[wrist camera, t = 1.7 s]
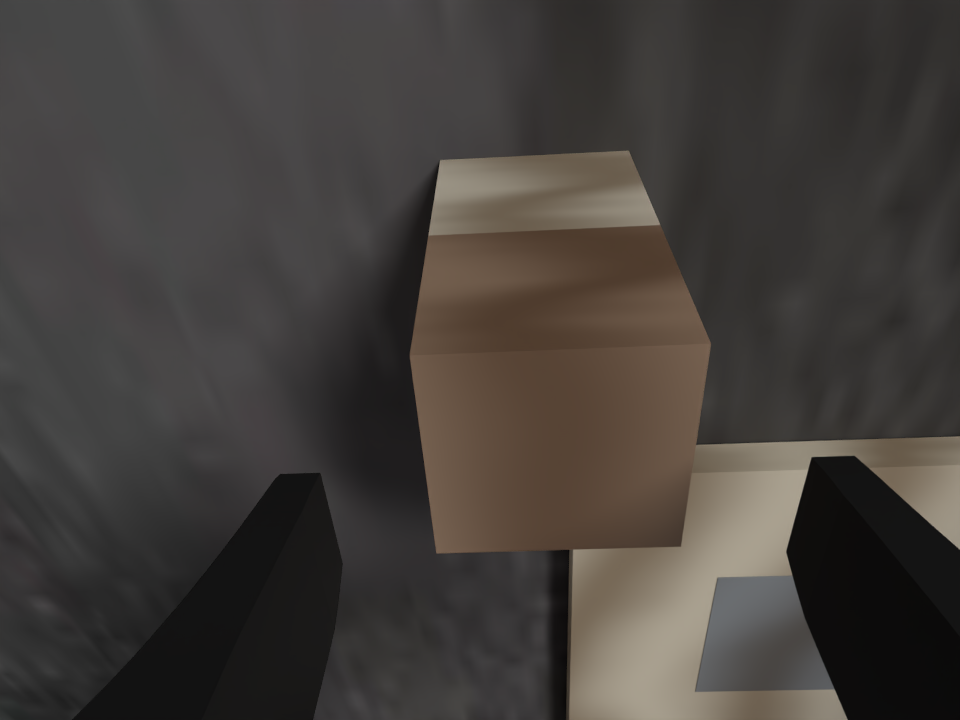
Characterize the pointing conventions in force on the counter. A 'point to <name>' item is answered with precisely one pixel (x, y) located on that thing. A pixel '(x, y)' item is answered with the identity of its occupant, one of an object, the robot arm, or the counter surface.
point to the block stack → (554, 359)
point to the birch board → (728, 590)
